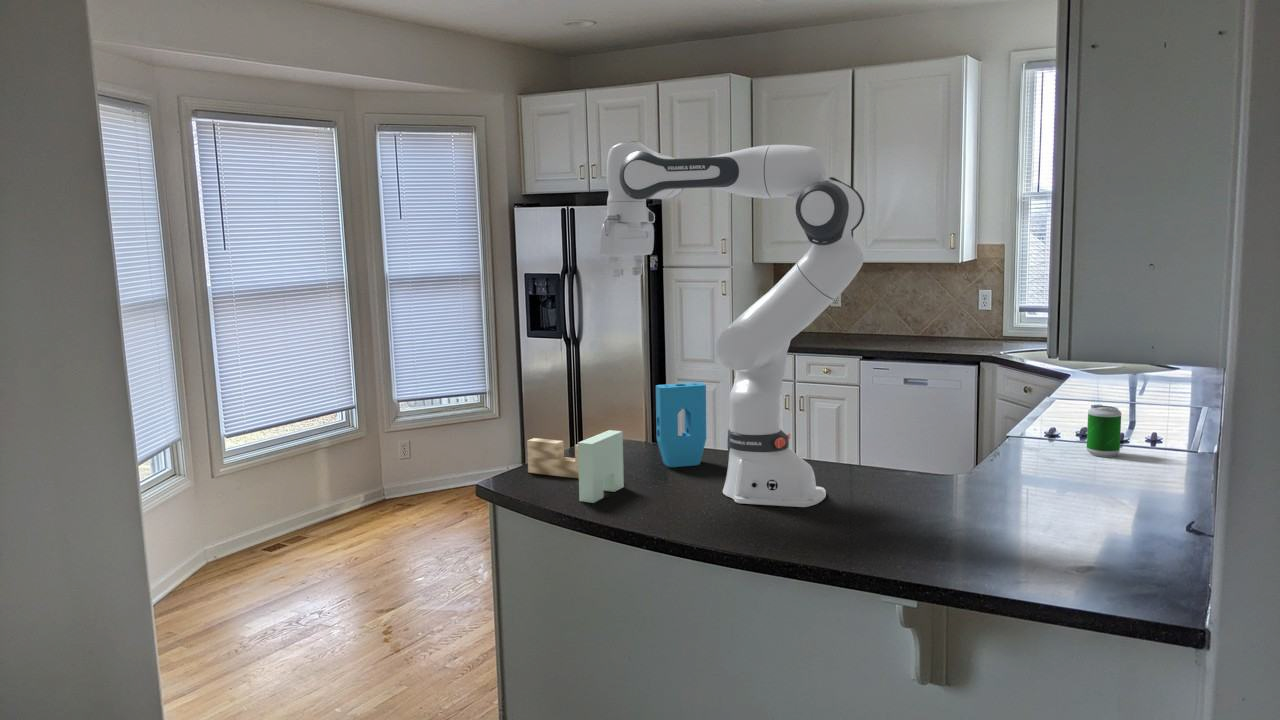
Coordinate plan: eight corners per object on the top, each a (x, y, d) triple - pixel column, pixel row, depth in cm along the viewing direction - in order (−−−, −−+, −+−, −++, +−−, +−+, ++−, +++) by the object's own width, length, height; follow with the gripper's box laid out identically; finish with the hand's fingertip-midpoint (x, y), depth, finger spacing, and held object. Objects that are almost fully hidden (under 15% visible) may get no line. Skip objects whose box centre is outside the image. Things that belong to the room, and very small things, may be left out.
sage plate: (623, 486, 218) (622, 431, 216) (593, 502, 206) (591, 444, 204) (610, 485, 220) (609, 430, 218) (579, 501, 207) (577, 442, 206)
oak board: (613, 478, 226) (612, 445, 224) (606, 481, 223) (606, 448, 222) (534, 469, 235) (533, 438, 234) (528, 472, 233) (527, 440, 232)
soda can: (1123, 458, 236) (1125, 410, 234) (1090, 457, 238) (1092, 410, 236) (1114, 451, 243) (1116, 405, 242) (1082, 450, 245) (1085, 404, 243)
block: (662, 468, 235) (660, 388, 232) (655, 463, 239) (654, 385, 237) (707, 464, 238) (707, 385, 235) (700, 459, 243) (700, 382, 240)
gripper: (617, 214, 206) (619, 278, 208) (658, 215, 224) (659, 274, 226) (592, 215, 209) (593, 278, 211) (634, 215, 227) (635, 273, 229)
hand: (628, 276), depth 218 cm, fingers open, 8 cm apart
